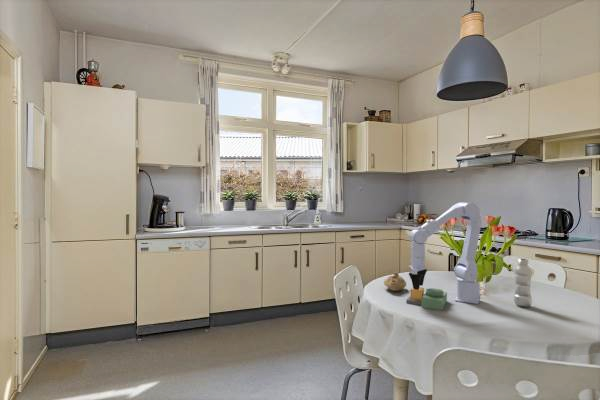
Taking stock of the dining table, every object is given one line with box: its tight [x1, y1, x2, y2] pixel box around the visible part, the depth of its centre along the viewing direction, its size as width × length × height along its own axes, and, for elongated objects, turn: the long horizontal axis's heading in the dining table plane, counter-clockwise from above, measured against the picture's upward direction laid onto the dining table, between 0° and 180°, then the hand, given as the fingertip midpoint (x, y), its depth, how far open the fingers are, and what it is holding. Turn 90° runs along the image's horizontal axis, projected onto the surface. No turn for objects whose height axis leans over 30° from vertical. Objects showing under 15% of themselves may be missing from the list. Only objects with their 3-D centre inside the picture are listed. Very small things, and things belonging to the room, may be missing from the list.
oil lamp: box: [383, 271, 407, 292], centre depth 179 cm, size 11×15×8 cm
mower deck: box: [405, 287, 448, 311], centre depth 158 cm, size 15×14×6 cm
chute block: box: [410, 286, 425, 301], centre depth 160 cm, size 5×4×6 cm
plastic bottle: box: [513, 258, 533, 308], centre depth 153 cm, size 6×7×20 cm
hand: (418, 287), depth 159 cm, fingers open, 7 cm apart
